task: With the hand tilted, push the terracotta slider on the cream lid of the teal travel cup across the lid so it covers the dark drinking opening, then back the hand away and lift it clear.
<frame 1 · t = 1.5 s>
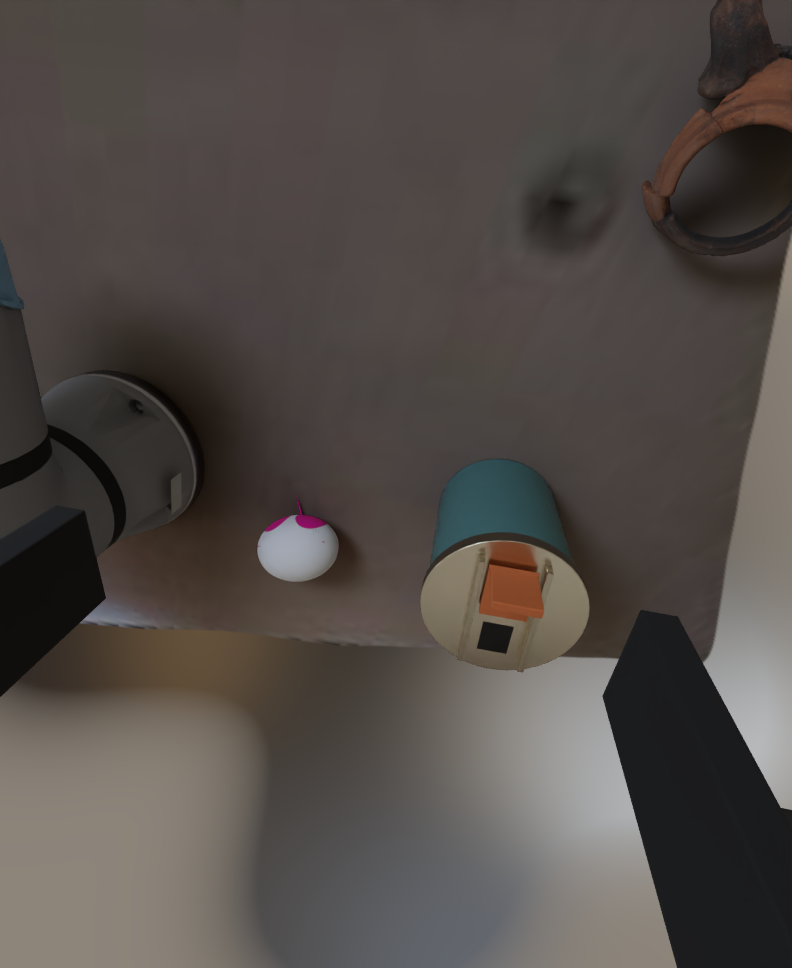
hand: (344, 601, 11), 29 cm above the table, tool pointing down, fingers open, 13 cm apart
slider: (509, 610, 28), point 15 cm above the table, slide at 0.0 cm
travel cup: (495, 510, 42), on the table
pottery mug: (717, 140, 28), on the table
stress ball: (307, 524, 46), on the table
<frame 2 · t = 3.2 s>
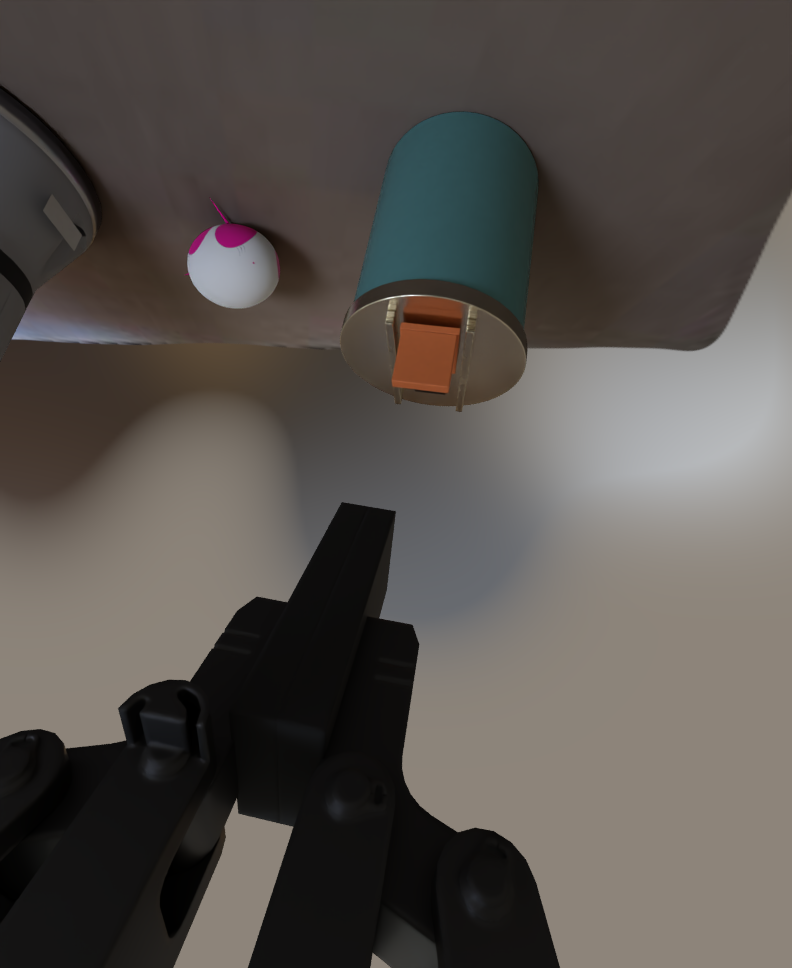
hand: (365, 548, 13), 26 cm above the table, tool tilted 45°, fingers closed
slider: (425, 373, 25), point 15 cm above the table, slide at 0.0 cm
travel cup: (459, 192, 31), on the table
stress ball: (239, 231, 38), on the table
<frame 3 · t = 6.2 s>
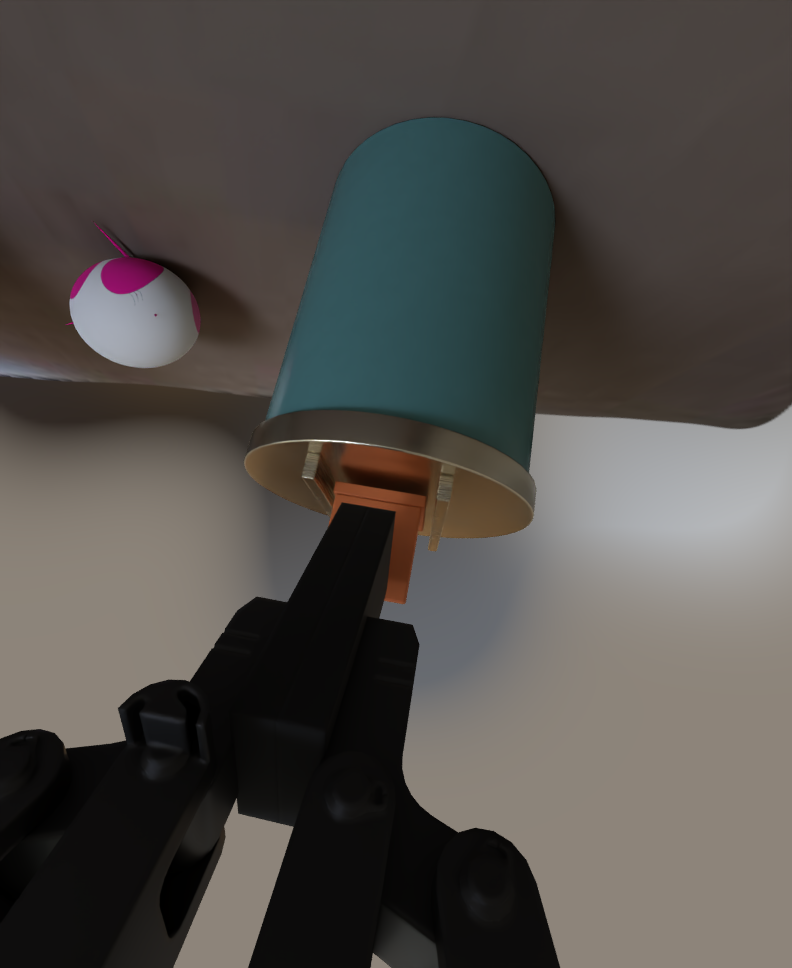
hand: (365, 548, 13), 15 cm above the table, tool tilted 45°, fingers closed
slider: (374, 549, 16), point 15 cm above the table, slide at 1.0 cm, touching gripper
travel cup: (440, 231, 21), on the table
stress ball: (146, 265, 28), on the table
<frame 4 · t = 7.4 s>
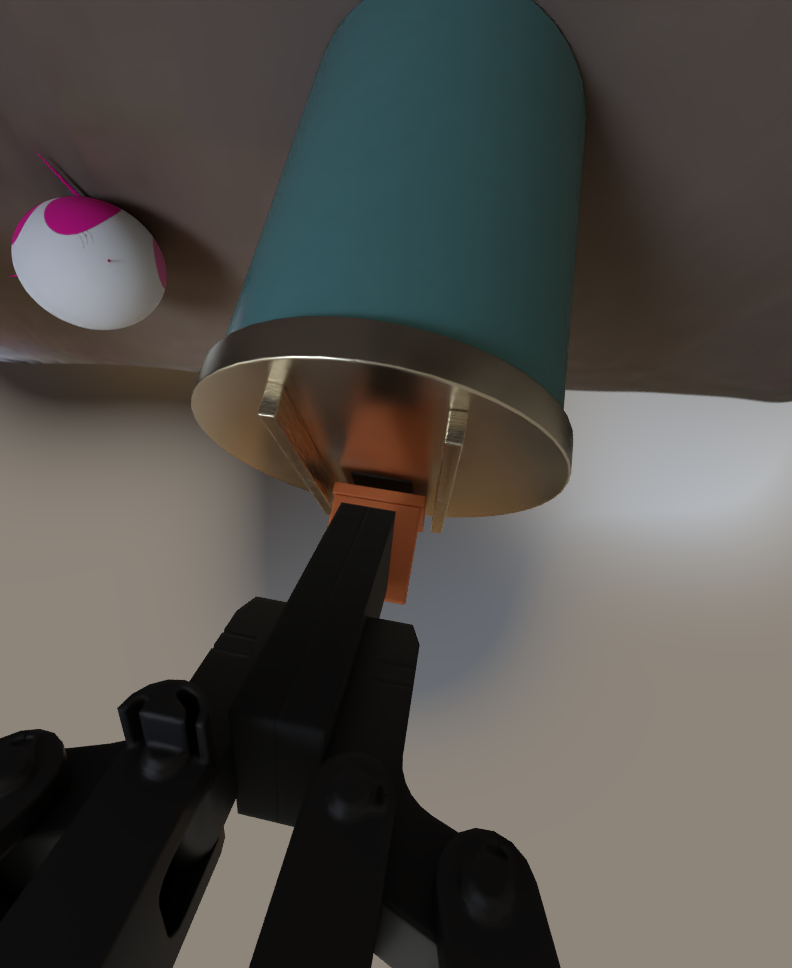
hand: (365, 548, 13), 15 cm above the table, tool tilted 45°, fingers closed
slider: (374, 550, 16), point 15 cm above the table, slide at 5.0 cm, touching gripper
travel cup: (444, 147, 18), on the table
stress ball: (104, 210, 24), on the table
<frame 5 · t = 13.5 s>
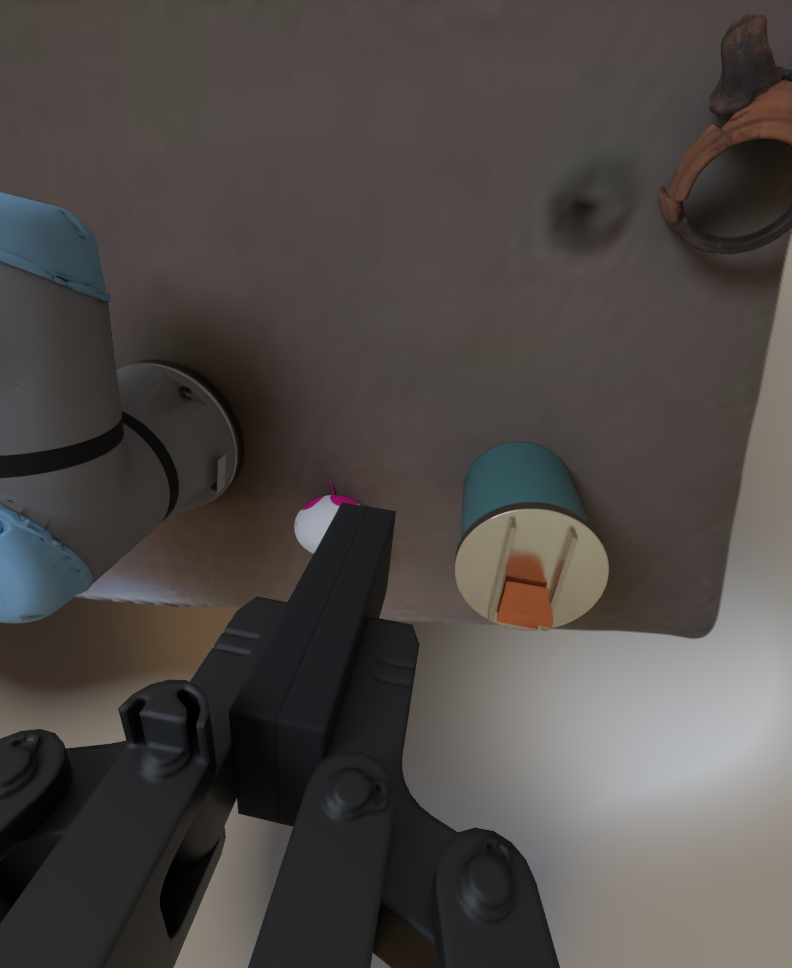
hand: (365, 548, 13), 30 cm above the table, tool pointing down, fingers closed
slider: (523, 619, 33), point 15 cm above the table, slide at 4.3 cm
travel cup: (516, 490, 45), on the table
pottery mug: (725, 150, 32), on the table
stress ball: (338, 505, 49), on the table
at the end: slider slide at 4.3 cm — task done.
